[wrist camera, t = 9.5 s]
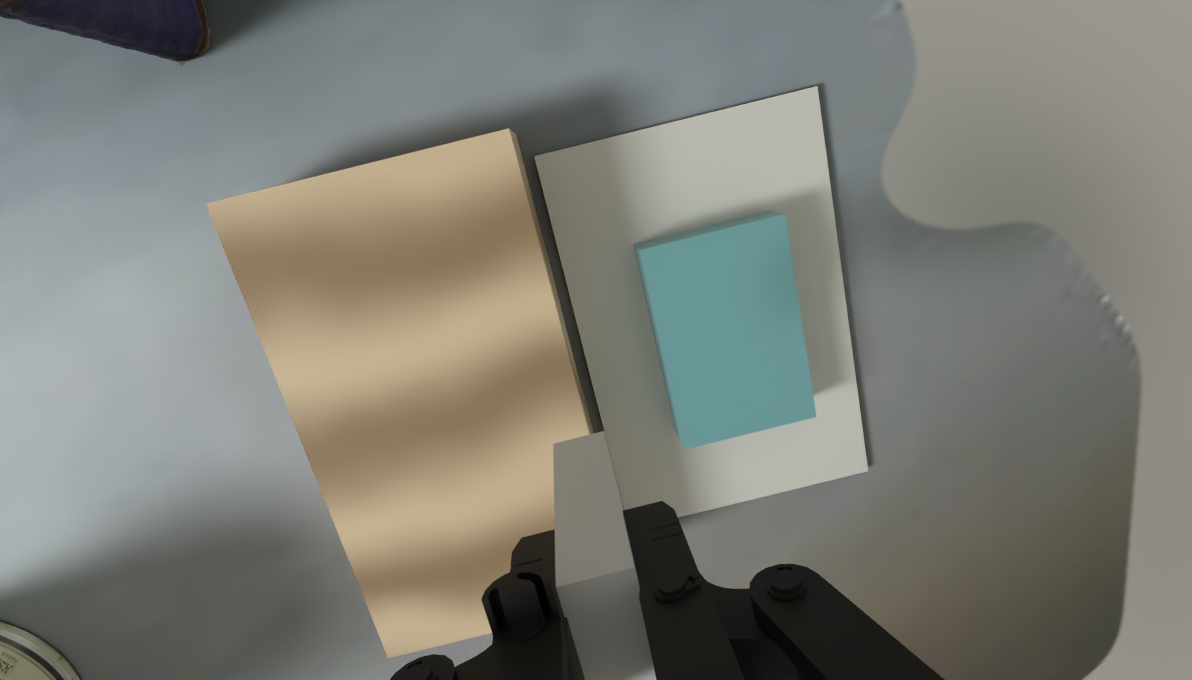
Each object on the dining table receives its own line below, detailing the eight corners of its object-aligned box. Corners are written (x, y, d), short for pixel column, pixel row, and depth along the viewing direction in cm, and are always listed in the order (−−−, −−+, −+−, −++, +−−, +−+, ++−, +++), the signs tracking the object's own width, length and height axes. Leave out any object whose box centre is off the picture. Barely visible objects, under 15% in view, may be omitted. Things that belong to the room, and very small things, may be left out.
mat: (865, 468, 31) (868, 471, 30) (628, 525, 31) (629, 529, 31) (814, 86, 26) (817, 85, 26) (534, 156, 26) (534, 156, 26)
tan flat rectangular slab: (623, 545, 31) (632, 598, 27) (409, 598, 31) (388, 658, 27) (516, 134, 26) (509, 128, 22) (258, 198, 26) (205, 203, 22)
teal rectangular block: (683, 449, 27) (675, 431, 29) (816, 417, 27) (799, 400, 29) (639, 250, 25) (633, 244, 27) (785, 213, 25) (769, 210, 27)
